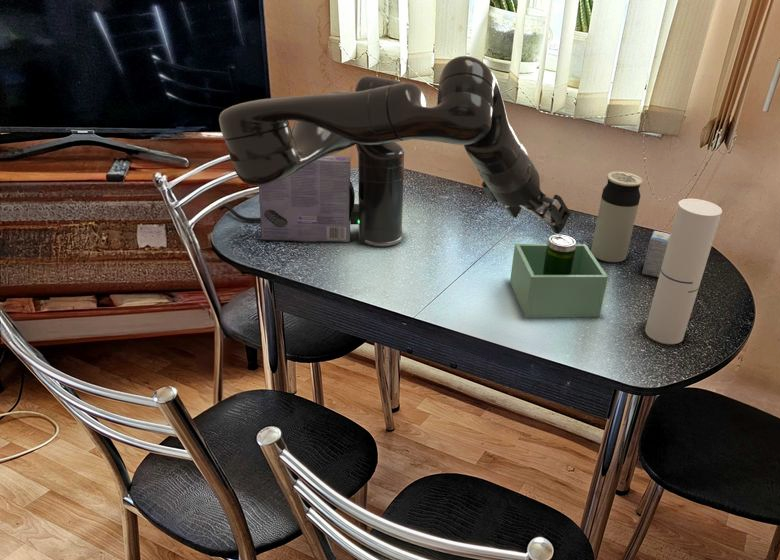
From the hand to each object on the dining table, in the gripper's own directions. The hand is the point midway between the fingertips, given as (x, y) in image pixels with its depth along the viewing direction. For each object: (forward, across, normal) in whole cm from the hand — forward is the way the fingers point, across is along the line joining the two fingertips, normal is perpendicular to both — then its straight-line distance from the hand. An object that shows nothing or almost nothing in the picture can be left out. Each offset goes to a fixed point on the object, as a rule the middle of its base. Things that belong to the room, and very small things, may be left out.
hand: (538, 220), depth 115 cm
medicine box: (+40, +11, +12) cm, 44 cm away
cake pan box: (+10, -52, -18) cm, 56 cm away
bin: (+21, 0, -6) cm, 22 cm away
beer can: (+21, 0, -6) cm, 22 cm away
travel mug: (+40, -1, +12) cm, 42 cm away
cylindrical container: (+24, +22, -4) cm, 33 cm away
